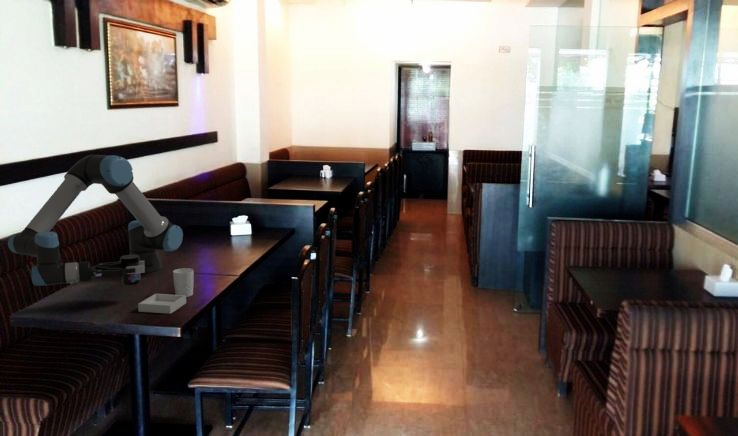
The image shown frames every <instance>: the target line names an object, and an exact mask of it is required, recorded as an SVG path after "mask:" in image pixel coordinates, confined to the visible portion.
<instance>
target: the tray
mask: <svg viewBox="0 0 738 436" xmlns="http://www.w3.org/2000/svg"><path fill="white" fill-rule="evenodd" d="M186 304H187V297H186V295H176V294H169V293H166V294H165V293H154V294H153V295H150V296H149V297H147V298H145V299H143V300H142V301H140V302H139V303H138V304H137V305H138V306H137V309H138V312H139V313H141V312H142V313H153V314H154V313H157V314H173V313H174V312H175V311H177V310H178V309H180V308H182V306H184V305H186Z"/></svg>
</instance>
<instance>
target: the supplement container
mask: <svg viewBox="0 0 738 436" xmlns="http://www.w3.org/2000/svg"><path fill="white" fill-rule="evenodd" d="M120 261H121V268H126V267H131V266H140V263H139V255H130V254H125V255H121V256H120ZM121 281H122V284H123V285H126V286H135V285H139V284H140V283H141V281H142V280H141V273H136V274H127V273H126V277H124V276H121Z"/></svg>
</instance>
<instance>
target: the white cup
mask: <svg viewBox="0 0 738 436" xmlns="http://www.w3.org/2000/svg"><path fill="white" fill-rule="evenodd" d="M194 271H195V270H194V269H193V268H189V267H187V268H186V267H183V268H177V269H174V270H173V271H172V275H173V285H174V293H175V294H174V295H186V298H188V297H191V296H193V295H194V282H195V278H194V275H195V274H194V273H195V272H194Z"/></svg>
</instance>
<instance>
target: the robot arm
mask: <svg viewBox="0 0 738 436" xmlns="http://www.w3.org/2000/svg"><path fill="white" fill-rule="evenodd" d="M133 170H134V169H133V167H132V164H131V162H129V161H128V160H127V159H126V158H124V157H122V156H119V155H111V154H110V155H107V154H106V155H105V154H89V155H86V156H85V157H82V158H81V159H79V160H78V161H77V162H76V163H75V164H73V166H71V167H70V168H69V169H68V171H67V172H66V173H65V175H64V176H63V178H64V180H63V181H62V182H61V184H60V185H59V186H58V187H57V189H56V190H55V191H54V193H52V194H51V196H50V197H49V198H48V199H47V200H46V202H45V203H44V204H43V206H42V207H41V208H40V209H39V211H37V212H36V214H35V215H34V217H33V218H32V219H31V220H30V221H29V222H28V224H27V225H26V226H25V228H23V230H22V231H21V232H20V233H14V234H12V235H11V236H10V237H9V239H8V241H7V246H8V249H9V250H10V252H12V253H15V254H18V255H24V256H31V257H35V258H36V262H37V264H35V265H33V266H32V267H31V282H32V284H33V285H34V286H47V287H48V286H53V285H62V284H70V285H73V284H74V283H79V282H81V283H85V282H86V283H87V282H91V281H92V277H95V279H103V278H104V279H105V278H117V277H118V278H119V277H122V276H124V277H126V273H127V274H136V273H140V274H147V273H153V272H157V271H160V270H161V269H163V268H162V261H161V259H160V256H159V254H158V251H157V250H159V251H165V252H174V251H177V250H178V249H179V247H180V246H181V244H182V242H183V237H184V233H183V230H182V228H181V227H180V226H179V225H176V224H172V222H170V220H169V219H168V218H167V217H166V216H161V215H160V213H159V212H158V211H157V209H156V208H155V207H154V206H153V204H152V203H151V202H150V201H149V200H148V199H147V197H146V196H145V195H144V194H143V192H142V191H141V189H139V187H138V186H137V184H136V183H135V182H134V172H133ZM94 184H96V185H97V184H98V185H102V186H103V187H104V189H105V190H106V191H107V193H109V194H111V195H115V196H116V197H117V198H118V200H120V201H121V202H122V204H123V205H124V207H126V209H127V210H128V211H129V212H130V214H131V215H133V217H134V218H135V219H136V220H132V221H130V222H129V223H128V227H127V233H128V244H129V245H128V247H129V255H139V263H140V266H131V267H126V268H121V260H119V261H110V262H109V261H108V262H98V263H97V264H96V265H91V262H90V261H80V262H77V261H75V262H64V263H61V256H60V255H61V254H60V242H59V237H58V234H57V232H54V231H51V230H52V229H53V228H54V227H55V225H56V223H57V222H58V221H60V219H61V217H62V216H63V215H64V214H65V212H66V211H67V210H68V209H69V207H70V206H71V205H72V204H73V202H74V201H75V200H76V199H77V198H78V196H80V194H81V193H82V192H85V191H87V189H88V188H89V187H90V186H92V185H94Z"/></svg>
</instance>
